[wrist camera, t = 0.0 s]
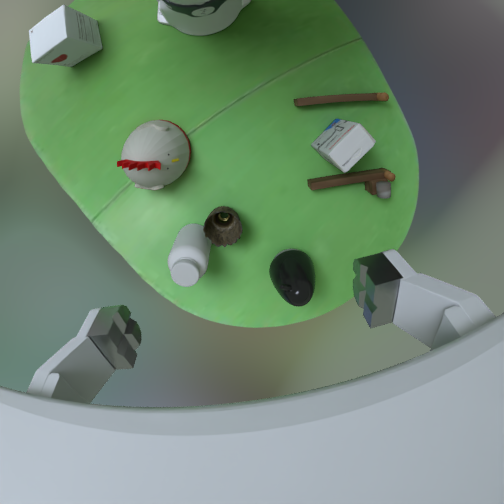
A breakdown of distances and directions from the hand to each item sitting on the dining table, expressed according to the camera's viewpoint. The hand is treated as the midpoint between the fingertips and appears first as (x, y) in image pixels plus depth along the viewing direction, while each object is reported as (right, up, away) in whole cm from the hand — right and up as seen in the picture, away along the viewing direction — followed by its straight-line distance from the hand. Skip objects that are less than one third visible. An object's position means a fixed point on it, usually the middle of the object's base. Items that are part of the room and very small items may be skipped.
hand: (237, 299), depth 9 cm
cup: (-6, +10, +50) cm, 51 cm away
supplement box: (-36, +47, +26) cm, 65 cm away
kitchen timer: (-19, +22, +42) cm, 51 cm away
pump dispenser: (+9, 0, +57) cm, 57 cm away
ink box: (+17, +25, +42) cm, 52 cm away
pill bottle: (-13, +5, +52) cm, 54 cm away
